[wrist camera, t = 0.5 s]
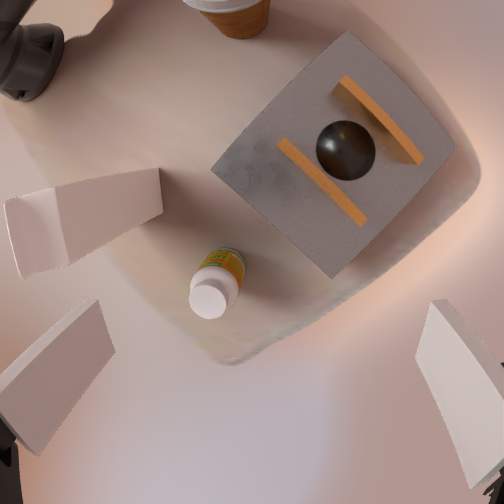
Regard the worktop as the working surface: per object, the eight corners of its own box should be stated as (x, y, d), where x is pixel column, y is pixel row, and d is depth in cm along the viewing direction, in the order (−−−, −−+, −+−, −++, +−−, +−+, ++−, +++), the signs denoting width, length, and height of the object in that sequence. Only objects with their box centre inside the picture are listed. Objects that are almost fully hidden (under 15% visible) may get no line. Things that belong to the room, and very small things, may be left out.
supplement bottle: (231, 239, 36) (213, 269, 27) (254, 274, 37) (244, 312, 28) (198, 259, 37) (171, 292, 28) (220, 291, 38) (202, 332, 29)
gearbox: (222, 167, 33) (198, 172, 23) (337, 49, 26) (355, 14, 17) (324, 259, 35) (337, 296, 26) (432, 146, 29) (476, 147, 19)
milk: (126, 216, 36) (3, 280, 16) (121, 173, 34) (-14, 207, 14) (165, 212, 36) (43, 284, 15) (159, 166, 34) (23, 194, 13)
